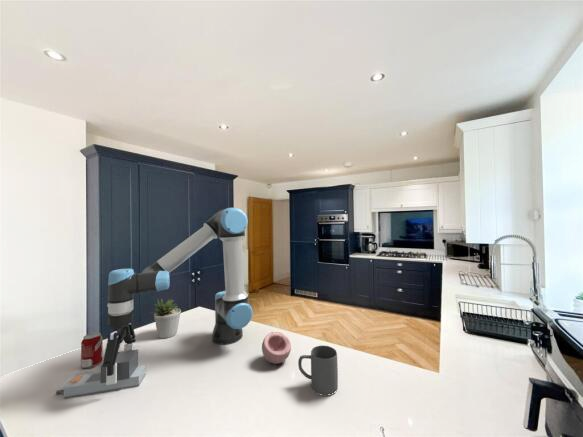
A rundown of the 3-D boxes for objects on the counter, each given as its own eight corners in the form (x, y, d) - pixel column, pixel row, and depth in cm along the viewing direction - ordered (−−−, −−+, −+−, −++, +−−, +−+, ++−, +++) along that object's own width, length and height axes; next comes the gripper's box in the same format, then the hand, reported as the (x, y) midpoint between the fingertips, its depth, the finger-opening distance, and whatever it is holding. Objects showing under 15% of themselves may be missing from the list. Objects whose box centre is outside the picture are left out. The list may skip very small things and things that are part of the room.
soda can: (90, 370, 93) (90, 339, 94) (76, 368, 95) (76, 338, 95) (106, 360, 100) (106, 332, 100) (93, 359, 101) (93, 331, 102)
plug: (138, 370, 90) (138, 349, 91) (129, 384, 82) (129, 361, 82) (112, 374, 88) (112, 352, 88) (100, 389, 80) (100, 365, 80)
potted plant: (158, 330, 129) (158, 293, 130) (184, 328, 130) (184, 292, 131) (146, 341, 116) (146, 300, 117) (175, 339, 118) (175, 299, 119)
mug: (337, 379, 85) (336, 346, 86) (338, 398, 76) (337, 360, 77) (300, 376, 87) (299, 343, 88) (296, 393, 78) (296, 357, 79)
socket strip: (145, 374, 90) (145, 363, 90) (138, 386, 84) (138, 374, 84) (63, 387, 84) (63, 375, 84) (48, 401, 77) (49, 388, 77)
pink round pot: (273, 374, 89) (273, 343, 89) (256, 361, 98) (256, 333, 98) (297, 361, 97) (296, 333, 97) (279, 350, 106) (278, 324, 106)
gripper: (124, 302, 97) (123, 355, 96) (89, 327, 73) (88, 397, 72) (144, 300, 99) (144, 352, 98) (116, 324, 75) (116, 393, 74)
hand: (120, 371), depth 85 cm, fingers open, 13 cm apart
